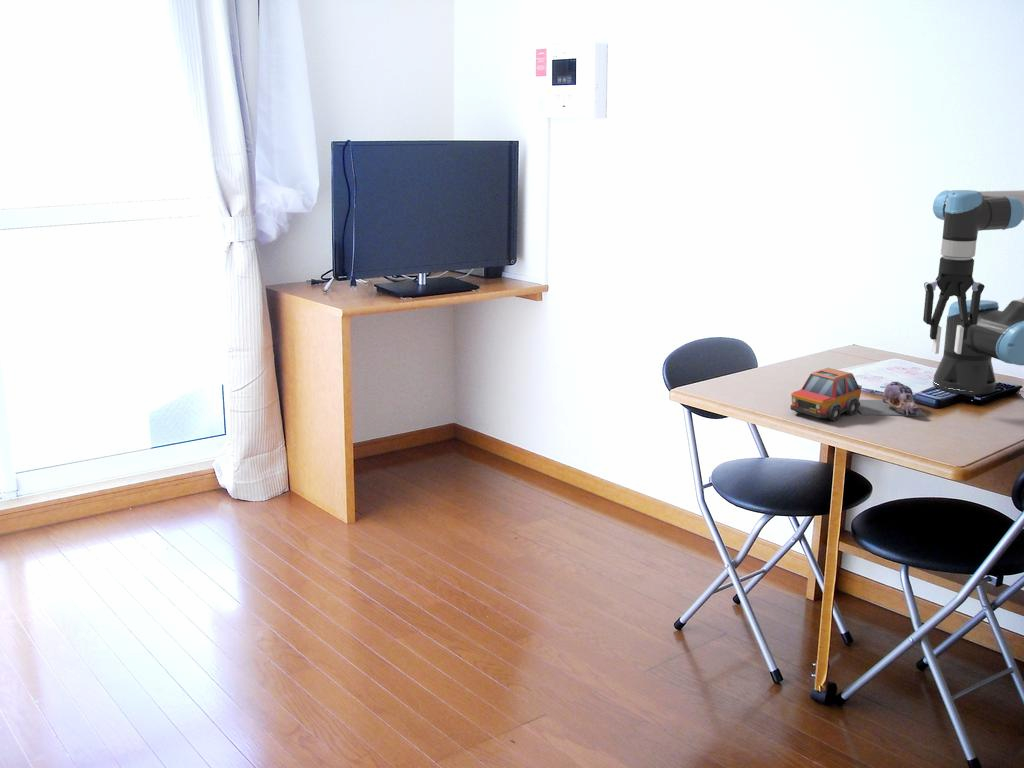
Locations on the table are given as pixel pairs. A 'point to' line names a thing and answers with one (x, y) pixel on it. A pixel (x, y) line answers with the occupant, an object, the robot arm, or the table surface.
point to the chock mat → (882, 409)
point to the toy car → (827, 394)
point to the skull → (900, 398)
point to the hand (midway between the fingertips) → (946, 352)
